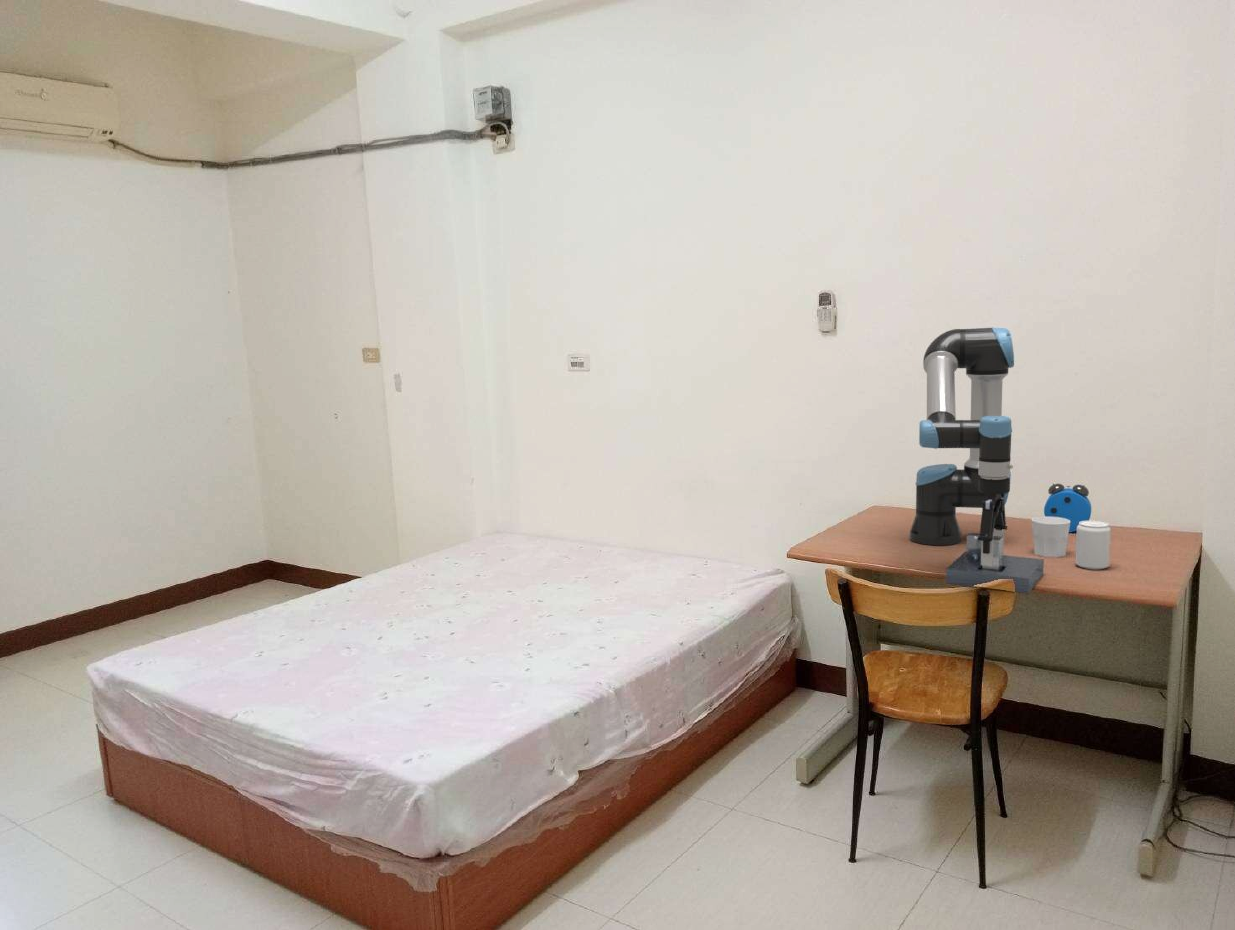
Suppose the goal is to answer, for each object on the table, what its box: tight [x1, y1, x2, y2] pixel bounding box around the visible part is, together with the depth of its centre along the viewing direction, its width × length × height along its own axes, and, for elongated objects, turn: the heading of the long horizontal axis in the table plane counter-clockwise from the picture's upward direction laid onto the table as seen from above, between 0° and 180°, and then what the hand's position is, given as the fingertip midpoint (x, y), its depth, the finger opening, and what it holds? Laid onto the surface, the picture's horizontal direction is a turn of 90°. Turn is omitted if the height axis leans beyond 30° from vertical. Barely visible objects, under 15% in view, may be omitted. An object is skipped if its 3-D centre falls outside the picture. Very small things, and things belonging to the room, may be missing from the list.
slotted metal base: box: [945, 532, 1045, 595], centre depth 238 cm, size 20×20×10 cm
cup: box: [1030, 516, 1070, 559], centre depth 259 cm, size 10×10×10 cm
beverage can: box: [1075, 520, 1111, 571], centre depth 245 cm, size 8×8×12 cm
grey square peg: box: [982, 536, 1004, 572], centre depth 234 cm, size 4×4×12 cm
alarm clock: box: [1043, 483, 1092, 533], centre depth 284 cm, size 13×6×15 cm, turn 61°
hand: (992, 559), depth 234 cm, fingers open, 11 cm apart
